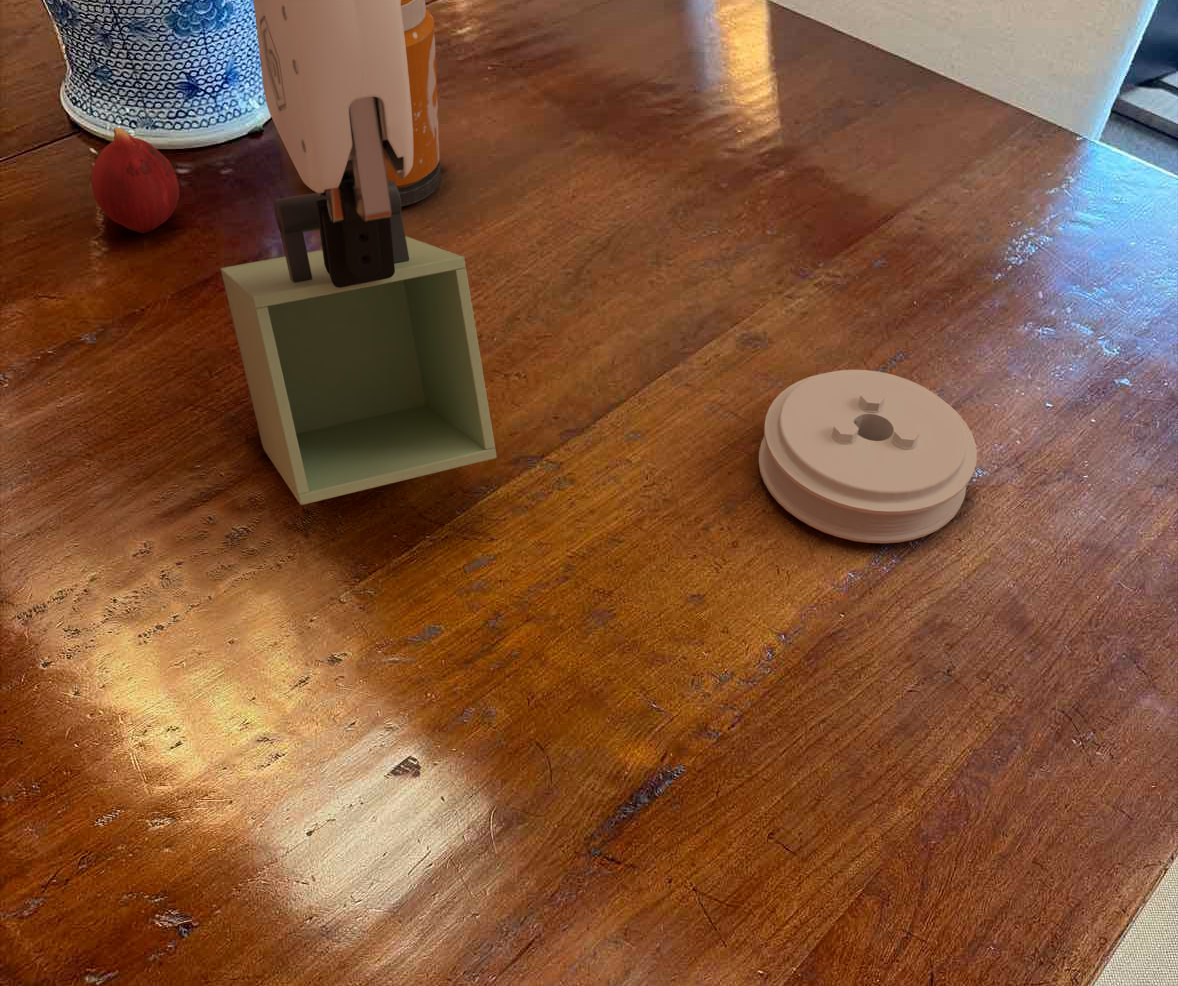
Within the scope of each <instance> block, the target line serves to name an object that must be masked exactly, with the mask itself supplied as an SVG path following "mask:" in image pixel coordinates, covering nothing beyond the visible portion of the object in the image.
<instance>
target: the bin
mask: <svg viewBox="0 0 1178 986" xmlns="http://www.w3.org/2000/svg"><path fill="white" fill-rule="evenodd" d="M388 191H389V198H390V205H391V217H390V221H391V233H392V244H393V255H394V266H395V273H394V275H393V276H392V277H390V278H388V279H383V280H377V281H372V282H367V283H362V284H357V285H352V286H347V287H342V288H338V287H335V286H334V285H333V283H332V281H331V278H330V274H329V273H328V272H327V270H326V268H325V265H324V258H323V250H322V249H317V250H312V251H308V250H307V244H306V241H305V236H304V234H305V233H309V232H314V231H320V228H319V221H318V213H317V206H316V201H319V200H324V199H326V197H319V195H318V193H317V192H312V193H307V194H300V195H295V196H288V197H283V198H277V199H274V200H273V201H274V202H273V209H274V215H275V219H276V223H277V227H278V230H279V233H280V238H281V242H282V247H283V252H284V256H279V257H275V258H269V259H268V258H267V259H263V260H258V261H257V260H256V261H253V262H252V261H251V262H246V263H240V264H235V265H230V266H224V267H221V268H220V273H221V277H222V282H223V286H224V290H225V295H226V298H227V303H228V308H229V311H230V315H231V320H232V324H233V327H234V328H233V329H234V332H235V337H236V340H237V346H238V349H239V353H240V357H241V362H242V365H243V369H244V375H245V379H246V382H247V383H246V384H247V387H248V392H249V395H250V400H251V405H252V408H253V413H254V417H255V421H256V425H257V430H258V433H259V437H260V443H261V447H262V448H263V451H264V453H266V455H267V457H268V458H269V459H270V461H271V462H272V464H273V466H274V468H275V469H276V470H277V472H278V473H279V475H280V476H281V478H282V479H283V481H284V482H285V484H286V485H287V487H288V488H289V490H290V491H291V493H292V494H293V496H294V497H295V499H296V501H297V502H298V503H299V505H300V506H303V505H308V504H311V503H312V504H313V503H317V502H319V501H325V500H328V499H332V498H337V497H342V496H345V495H349V494H352V493H358V492H362V491H365V490H370V489H375V488H378V487H383V486H386V485H392V484H394V483H399V482H403V481H408V480H411V479H416V478H419V477H424V476H428V475H432V474H437V473H440V472H446V471H448V470H449V471H450V470H453V469H457V468H461V467H465V466H470V465H473V464H477V463H482V462H486V461H490V460H495V459H497V458H498V455H497V450H496V442H495V437H494V432H493V426H492V425H493V424H492V419H491V418H492V417H491V412H490V407H489V401H488V400H489V399H488V395H487V389H486V382H485V375H484V370H483V364H482V358H481V352H480V345H479V339H478V334H477V328H476V327H477V326H476V322H475V315H474V309H473V302H472V296H471V291H470V286H469V285H470V284H469V279H468V278H469V277H468V273H467V268H466V260H465V257H464V256H463V255H460V254H457V253H455V252H451V251H448V250H445V249H443V248H440V247H437V246H434V245H431V244H429V243H426V242H424V241H420V240H418V239H415V238H412V237H409V236H406V232H405V226H404V221H403V217H402V216H403V215H402V206H401V199H400V194H399V191H398V188H397V185H396V183H395V182H394V181H393V180H388Z"/></svg>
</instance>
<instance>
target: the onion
mask: <svg viewBox="0 0 1178 986" xmlns="http://www.w3.org/2000/svg"><path fill="white" fill-rule="evenodd" d="M91 188H92V194H93V198H94V200H95V202H96V204H97V207H98V208H99V209H100V210H101V211H102V212H103V213H104V214H105V215H106V216H107V217H108V218H109V219H111V220H112V221H113V222H114V223H116V224H118V225H121V226H123V227H125V228H126V229H128V230H129V231H130V230H131V231H133V232H137V233H139V234H147V233H150V232H152V231H154V230H155V229H157V228H158V227H160V226H161V225H162V224H164V223H165V222H167V221H168V220H169V218H170V217H171V216H172V215H173V213H174V211H175V210H176V207H177V204H178V202H179V199H180V183H179V180H178V177H177V174H176V171H175V169H174V167H173V166H172V164H171V162H170V161H169V159H168V158H167V157H166V156H165V155H163V153H161V152H160V150H158V149H157V148H156V147H155V146H153V145H152V144H151V143H149V142H147V141H146V140H143V139H141V138H137V137H134V136H132V135H131V134H130V133H128V132H127V131H126V130H125V129H124V128H122V127H114V129H113V140H112V141H111V142H110V143H108V144H107V145H106V146H105V147H104V148H103V149H102V150H101V152H100V153H99V155H98V156H97V157H96V160H95V161H94V164H93V166H92V169H91Z"/></svg>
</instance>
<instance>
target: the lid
mask: <svg viewBox="0 0 1178 986" xmlns="http://www.w3.org/2000/svg"><path fill="white" fill-rule="evenodd" d="M977 459H978V449H977V444H976V440H975V438H974V435H973V432H972V431H971V429H970V427H969V426H968V424H967V423H966V422H965V420H964V419H963V417H962V416H961V415H960V414H959V413H958V412H957V411H956V410H955V409H954V408H953V407H952V406H951V405H950V404H949V403H947V402H946V401H945V400H943V399H942V398H941V397H940V396H938V395H937V394H935V393H934V392H933V391H931V390H930V389H928V388H926V387H924V386H922V385H921V384H919V383H916V382H915V381H912V380H909V379H907V378H905V377H902V376H898V375H895V374H891V373H888V372H883V371H877V370H870V369H869V370H867V369H840V370H834V371H828V372H824V373H823V372H822V373H820V374H815V375H811V376H808V377H806V378H803V379H800V380H798V381H796V382H794V383H793V384H791V385H789V386H788V387H786V388H785V389H784V390H783V391H781V392H780V393H779V394H778V395H777V396H776V397H775V398H774V399H773V401H772V403H771V404H770V405H769V407H768V410H767V413H766V415H765V420H764V424H763V437H762V440H761V442H760V446H759V450H758V468H759V473H760V476H761V478H762V481H763V484H764V485H765V487H766V488H767V490H768V492H769V493H770V495H771V496H772V497H773V498H774V499H775V501H776V502H777V503H778V504H779V505H780V506H781V507H782V508H784V510H786V511H787V512H788V513H789V514H791V516H793V517H795V519H798V520H799V521H801V522H802V523H804V524H805V525H808V526H809V527H812V528H814V529H816V530H818V531H820V532H822V533H825V534H828V535H831V536H834V537H837V538H841V539H845V540H849V541H853V542H861V543H867V544H894V543H895V544H896V543H903V542H909V541H913V540H917V539H921V538H923V537H926V536H928V535H930V534H932V533H933V534H934V532H937V531H939V530H940V529H941V528H943V527H945V526H946V525H947V524H948V523H950V521H951V520H952V519H954V517H955V516H956V515H957V513H958V512H959V510H960V509H961V507H962V506H963V502H964V500H965V497H966V492H967V486H968V484H969V483H970V481H971V479H972V477H973V475H974V472H975V469H976V466H977Z"/></svg>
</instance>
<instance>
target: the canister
mask: <svg viewBox="0 0 1178 986" xmlns="http://www.w3.org/2000/svg"><path fill="white" fill-rule="evenodd" d="M401 11H402V19H403V28H404V36H405V46H406V55H407V64H408V75H409V86H410V97H411V109H412V123H413V167H412V169H411V171H410V172H409V173H408V175H407V176H406V177H405V178H400V177H399V176H398V175H397V174H396V172H395V171H394V169H393V167H392V166H391V164H390V162H389V161H388V159H387V175H388V180H393V181H394V182H395V183H396V185H397V188H398V191H399V194H400V199H401V207H404V206H408V205H411V204H414V203H417V202H419V201H422V200H423V199H425V198H427V197H428V196H430V195H431V194H432V193H434V192H435V191H436V189H437V188H438V186H439V185H440V182H441V179H442V177H441V174H442V173H441V160H440V159H441V153H440V151H441V149H440V148H441V147H440V128H439V127H440V126H439V107H438V105H439V103H438V101H439V100H438V80H437V78H438V77H437V55H436V35H435V33H436V32H435V18H434V17H433V15H432V14H431V12H430V11H429V10H428V9H427V7H426V0H401Z"/></svg>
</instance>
